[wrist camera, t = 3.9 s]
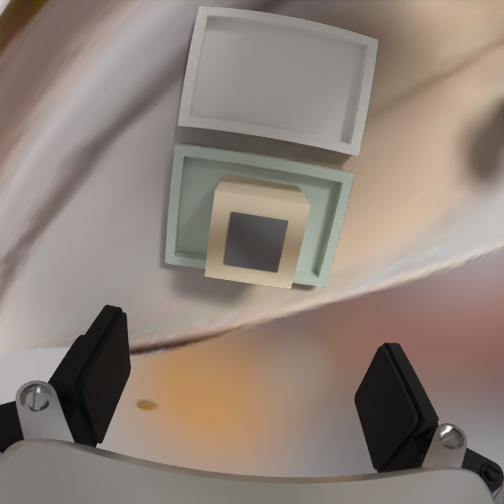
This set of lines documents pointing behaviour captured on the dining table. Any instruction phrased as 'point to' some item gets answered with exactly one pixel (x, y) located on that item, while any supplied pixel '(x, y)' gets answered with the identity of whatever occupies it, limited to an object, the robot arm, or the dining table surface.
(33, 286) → the dining table surface
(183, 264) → the tray sage
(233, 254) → the light wooden cube
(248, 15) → the tray white
